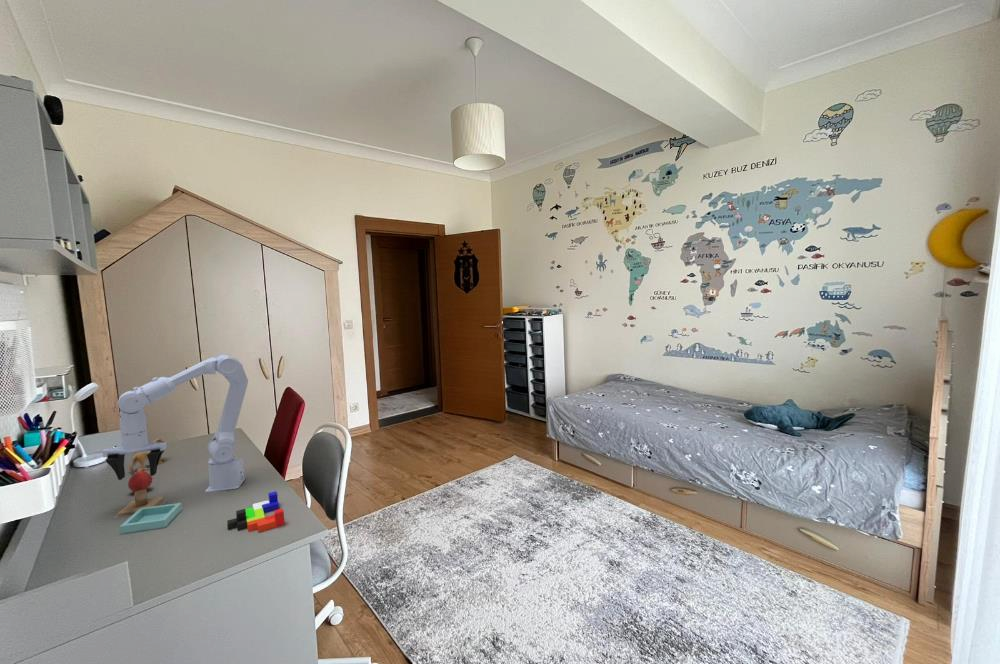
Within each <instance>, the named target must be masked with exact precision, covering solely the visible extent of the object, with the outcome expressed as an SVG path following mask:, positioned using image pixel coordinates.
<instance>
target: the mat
mask: <svg viewBox="0 0 1000 664" xmlns="http://www.w3.org/2000/svg"><path fill="white" fill-rule="evenodd" d="M168 501H169V498H164V501H163V502H161V503H160V504H159V505H158V506H161V505H165V503H166V502H168ZM131 516H132V515H128V516H121V517H117V514H115V515H114V516H113V517H112V519H118V518H125V517H126V518H128V517H131Z"/></svg>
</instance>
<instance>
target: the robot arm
mask: <svg viewBox="0 0 1000 664" xmlns="http://www.w3.org/2000/svg"><path fill="white" fill-rule="evenodd" d="M216 372H217V373H218V374H221V375H222V376H223V377H224V378H225V379H226V380H227V382H228V383H229V388H228V391H227V394H226V397H225V401H224V405H223V408H222V412H221V414H220V415H221V416H220V418H219V421H218V422H219V423H218V426H217V429H216V432H214V435H213V438H212V439H211V440H210V442H208V443H207V447H206V449H207V452H208V454H209V455H210V458H209V459H208V462H207V465H208V477H209V481H208V482H209V486H208V487H207V488H206V489H205V490H204V492H205V493H209V492H217V491H225V490H226V491H228V490H236V489H239V488H240V486H241V485H242V484H243V482H245V480H246V477H245V469H244V468H245V467H244V465H245V464H244V460H243V458H241V457H239V458H237V457H235V453H236V452H235V451H236V450H235V447H234V444H235V432H236V427H237V424H238V420H239V417H240V413H241V410H242V405H243V403H244V398H245V395H246V392H247V388H248V385H249V384H248V383H249V378H248V377H247V374H246V372H245V369H244V366H243V364H242V362H240V360H239V359H237V358H236V357H234V356H231V355H230V354H226V353H220V354H217V355H216V356H215V357H213V356H212V357H210V358H207V359H205V360H203V361H200V362H199V363H196V364H194V365H193V366H190V367H188V368H186V369H184V370H182V371H180V372H179V373H177V374H174V375H172V376H170V377H167V376H160V377H157V376H156V377H153V378H151V381H150V382H149V381H148V383H145V384H143V385H142V386H135V387H133V388H132V389H133V390H128V391H126V392H124V393H122V394H121V395H120V396H119V398H118V401H117V406H118V408H119V409H120V410H119V416H120V418H119V428H120V439H121V440H120V441H121V446H116V447H110V448H105V449H103V450H102V452H101V453H102V458H106V459H105V463H106V464H108V465H109V466H110V467H111V468H112V470H113V471H114V473H115V475H116V478H117V480H118V481H121V480H122V479H124V478H125V477H126V472H125V457H126V455H127V454H128V455H130V454H136V453H139V452H148V451H151V452H150V453H149V454H147V457H148V460H147V461H148V464H149V474H150V475H151V476H155V475H156V474H157V471H158V467H159V460H160V457H161V458H162V456H163V454H164V452H165V451H166V450H167V448H168V447H167V445H168V444H167V442H166V441H165V442H163V443H152V442H149V439H148V430H147V428H148V427H147V418H146V414H145V406H146V405H150V404H152V403H155V402H156V401H158V400H160V399H163V398H165V397H167V396H169V395H170V394H172V393H174V392H175V389H176V387H177V386H180V385H182V384H185V383H187V382H190V381H192V380H194V379H196V378H199V377H201V376H204V375H217V373H216ZM164 450H165V451H164ZM163 451H164V452H163ZM162 453H163V454H162Z"/></svg>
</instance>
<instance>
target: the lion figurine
mask: <svg viewBox="0 0 1000 664" xmlns="http://www.w3.org/2000/svg"><path fill="white" fill-rule="evenodd" d="M163 442H166V441H165V440H164V439H163V438H156V439H154V440H153V441H152V442H151V443H163ZM165 451H166V449H165V450H164V451H163V453H162V455H163V454H164V452H165ZM150 452H151V451H148V452H139V453H134V454H133V457H132V460H131V464H130V466H129V473H130V474H134V472H135V470H134V467H135V466H136V464H137V463H139V464H140V465H139V467H140V469H143V470H142V471H147V470H149V468H148V467H145V462H146V461H149V460H148V457H147V454H149V453H150ZM160 464H164V463H163V461H162V456H161V457H160V460H159V463H158V465H160Z"/></svg>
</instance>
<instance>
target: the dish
mask: <svg viewBox="0 0 1000 664" xmlns="http://www.w3.org/2000/svg"><path fill="white" fill-rule="evenodd" d="M182 504H183V503H182V502H177V503H172V504H171V503H169V504H163V505H161V506H153V507H146V508H140V509H139V510H138V511H137V512H135V513H134V514H133V515H132V516H129V517H128V518H127V519H126V520H125V521H124V522H123V523H122V524H121V525H119V533H120V535H124V534H125V535H126V534H130V533H138V532H139V533H140V532H146V531H151V530H152V531H153V530H159V529H164V528H165V529H166V528H167V527H168V526H169V525H170V523H171V522H172V521H173V520H174V519H175V518H176V517H177V516H178V515H179V514H180V513H181V512H182V510H183V509H182V508H183V506H182Z"/></svg>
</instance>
